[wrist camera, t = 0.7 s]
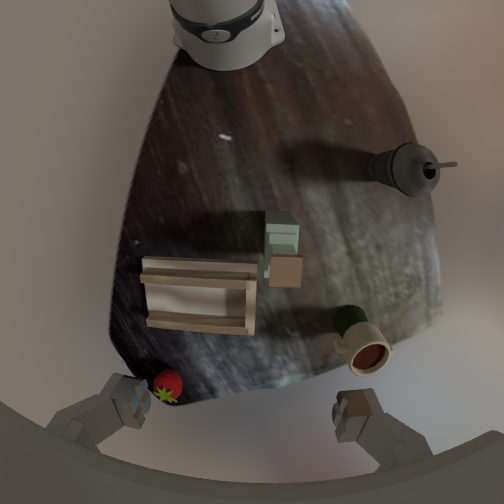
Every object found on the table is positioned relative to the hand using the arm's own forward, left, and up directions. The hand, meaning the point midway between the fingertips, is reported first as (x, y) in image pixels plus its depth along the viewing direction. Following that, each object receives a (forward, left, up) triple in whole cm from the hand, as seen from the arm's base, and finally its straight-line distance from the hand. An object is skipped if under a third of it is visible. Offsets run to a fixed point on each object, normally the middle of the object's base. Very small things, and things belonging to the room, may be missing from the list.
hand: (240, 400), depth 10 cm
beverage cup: (-11, +20, -36) cm, 43 cm away
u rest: (+13, -10, -36) cm, 39 cm away
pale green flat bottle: (+1, +3, -36) cm, 36 cm away
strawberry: (+32, -17, -36) cm, 51 cm away
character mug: (+17, +18, -36) cm, 44 cm away
